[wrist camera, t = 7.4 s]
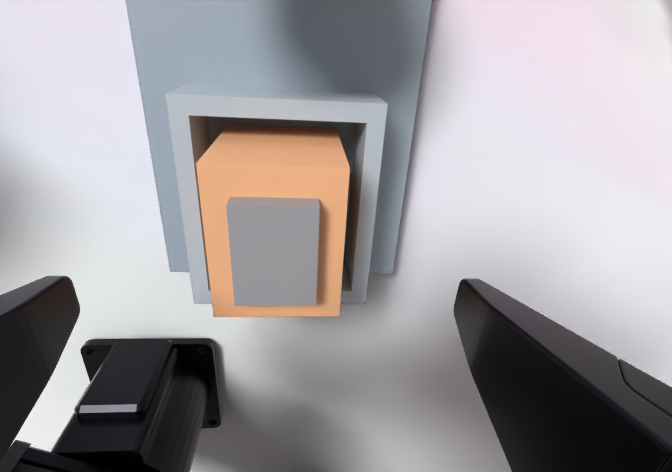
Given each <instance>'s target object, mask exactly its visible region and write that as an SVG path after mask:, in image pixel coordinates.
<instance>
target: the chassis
mask: <svg viewBox="0 0 672 472" xmlns="http://www.w3.org/2000/svg"><path fill="white" fill-rule="evenodd" d="M431 5H432V0H126V6H127V12H128V18H129V24H130V30H131V36H132V42H133V48H134V54H135V60H136V66H137V73H138V79H139V85H140V91H141V97H142V103H143V109H144V115H145V121H146V127H147V133H148V139H149V145H150V152H151V158H152V164H153V170H154V176H155V182H156V188H157V194H158V200H159V206H160V212H161V218H162V224H163V231H164V237H165V243H166V249H167V255H168V261H169V267H170V272H190V277H191V284H192V291H193V299H194V304H212V298H211V289H210V280H209V272H208V263H207V254H206V246H205V237H204V228H203V219H202V211H201V202H200V193H199V185H198V176H197V167H196V163H197V162H198V160H199V159H200V158H201V157H202V156H203V154H204V153H205V152H206V151H207V150H208V148H209V147H210V146H211V145H212V144H213V142H214V141H215V140H216V139H217V138H218V136H219V135H220V134H221V133H222V132H223V130H224V129H225V128H226V127H227V126H228V125H229V124H246V125H272V126H298V127H325V128H336V129H337V132H338V135H339V138H340V141H341V143H342V146H343V149H344V152H345V155H346V158H347V161H348V164H349V167H350V174H349V188H348V202H347V216H346V230H345V244H344V258H343V272H342V286H341V300H340V304H365V303H366V294H367V285H368V276H369V273H393V268H394V261H395V254H396V247H397V240H398V233H399V226H400V219H401V212H402V205H403V199H404V192H405V185H406V178H407V171H408V164H409V157H410V150H411V143H412V136H413V129H414V122H415V115H416V109H417V102H418V95H419V88H420V81H421V74H422V67H423V60H424V53H425V46H426V39H427V32H428V26H429V19H430V12H431Z"/></svg>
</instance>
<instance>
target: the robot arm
mask: <svg viewBox="0 0 672 472" xmlns="http://www.w3.org/2000/svg"><path fill="white" fill-rule="evenodd" d="M79 313H80V305H79V302H78V299H77V295H76V292H75V289H74V286H73V283H72V280H71V279H70V278H69V277H67V276H46V277H43V278H41V279H39V280H36V281H34V282H31V283H29V284H27V285H24V286H22V287H19V288H17V289H15V290H12V291H10V292H7V293H5V294H3V295H0V472H190V469H191V465H192V461H193V458H194V454H195V450H196V446H197V442H198V438H199V435H200V431H201V428H215V427H218V426H220V424H221V421H222V408H221V400H220V391H219V382H218V374H217V365H216V356H215V348H214V344H213V342H212V341H211V340H209V339H204V338H202V339H92V340H88V341H86V343H85V344H84V345H83V347H82V348H81V355H82V358H83V361H84V364H85V367H86V370H87V373H88V376H89V379H90V384H89V386H88V387H87V389H86V390H85V392H84V394H83V395H82V397H81V399H80V400H79V402H78V403H77V405H76V407H75V412H74V414H73V415H72V417H71V419H70V420H69V422H68V424H67V425H66V427H65V429H64V430H63V432H62V434H61V435H60V437H59V439H58V440H57V442H56V443H55V445H54V447H53V448H52V450H51V452H48V451H45V450H41V449H37V448H34V447H30V445H31V444H30V443H26V442H23V441H19V440H15V441H14V439H15V437H16V435H17V434H18V432H19V430H20V429H21V427H22V425H23V424H24V422H25V420H26V419H27V417H28V415H29V413H30V412H31V410H32V408H33V407H34V405H35V403H36V402H37V400H38V398H39V397H40V395H41V393H42V392H43V390H44V388H45V386H46V385H47V383H48V381H49V379H50V377H51V376H52V374H53V372H54V370H55V368H56V365H57V363H58V361H59V359H60V357H61V354H62V352H63V350H64V348H65V346H66V343H67V341H68V339H69V337H70V335H71V332H72V330H73V328H74V326H75V324H76V321H77V319H78V317H79ZM454 317H455V320H456V324H457V327H458V330H459V334H460V337H461V341H462V344H463V348H464V351H465V355H466V358H467V362H468V365H469V368H470V371H471V374H472V376H473V379H474V381H475V384H476V386H477V388H478V391H479V393H480V396H481V398H482V400H483V403H484V405H485V408H486V410H487V412H488V415H489V417H490V420H491V422H492V424H493V427H494V429H495V432H496V434H497V436H498V439H499V441H500V444H501V446H502V448H503V451H504V453H505V456H506V458H507V460H508V463H509V465H510V468H511V470H512V472H672V387H670V386H668V385H666V384H665V383H663V382H661V381H659V380H657V379H655V378H654V377H652V376H650V375H648V374H646V373H644V372H643V371H641V370H639V369H637V368H635V367H634V366H632V365H630V364H628V363H627V362H625V361H623V360H621V359H619V360H618V359H617V357H616V356H614V355H612V354H611V353H609V352H607V351H605V350H604V349H602V348H600V347H598V346H597V345H595V344H593V343H591V342H589V341H588V340H586V339H584V338H582V337H581V336H579V335H577V334H575V333H574V332H572V331H570V330H568V329H566V328H565V327H563V326H561V325H559V324H558V323H556V322H554V321H552V320H551V319H549V318H547V317H545V316H544V315H542V314H540V313H538V312H536V311H535V310H533V309H531V308H529V307H528V306H526V305H524V304H522V303H521V302H519V301H517V300H515V299H513V298H512V297H510V296H508V295H506V294H505V293H503V292H501V291H499V290H498V289H496V288H494V287H492V286H491V285H489V284H487V283H485V282H483V281H482V280H480V279H463V280H461V282H460V284H459V287H458V291H457V295H456V300H455V304H454ZM202 347H203V348H206V349H202ZM92 349H94V350H92ZM13 441H14V443H13V444H12V442H13ZM11 444H12V445H11ZM10 446H11V447H10ZM9 447H10V448H9Z"/></svg>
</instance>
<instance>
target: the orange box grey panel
mask: <svg viewBox="0 0 672 472" xmlns="http://www.w3.org/2000/svg"><path fill="white" fill-rule="evenodd" d="M196 167H197V176H198V185H199V193H200V202H201V211H202V219H203V228H204V237H205V246H206V254H207V263H208V272H209V280H210V289H211V298H212V306H213V315H214V317H295V316H339V314H340V300H341V286H342V272H343V258H344V244H345V230H346V216H347V202H348V188H349V174H350V167H349V164H348V161H347V158H346V155H345V152H344V149H343V146H342V143H341V141H340V138H339V135H338V132H337V129H336V128H325V127H298V126H272V125H246V124H229V125H228V126H227V127H226V128H225V129H224V130H223V132H222V133H221V134H220V135H219V136H218V138H217V139H216V140H215V141H214V142H213V144H212V145H211V146H210V147H209V148H208V150H207V151H206V152H205V153H204V154H203V156H202V157H201V158H200V159H199V160H198V162H197V163H196Z"/></svg>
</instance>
